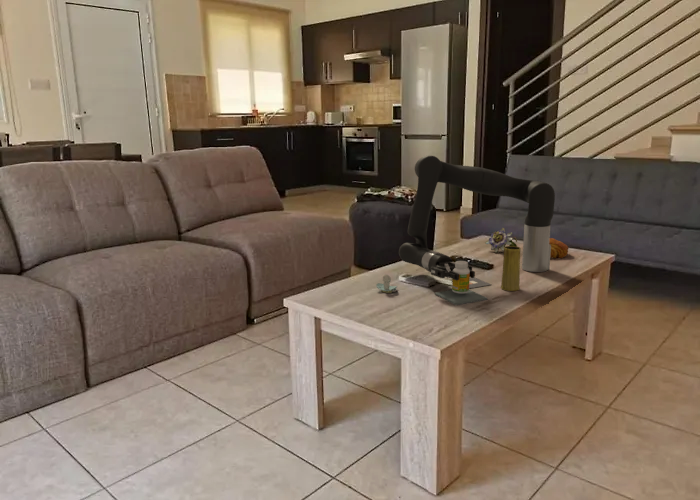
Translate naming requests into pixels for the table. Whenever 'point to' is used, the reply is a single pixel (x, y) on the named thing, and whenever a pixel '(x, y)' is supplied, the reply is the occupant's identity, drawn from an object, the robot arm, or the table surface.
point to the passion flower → (500, 240)
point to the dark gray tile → (477, 283)
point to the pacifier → (386, 285)
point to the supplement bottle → (461, 277)
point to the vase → (511, 268)
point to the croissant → (558, 248)
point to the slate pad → (460, 297)
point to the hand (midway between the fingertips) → (465, 276)
